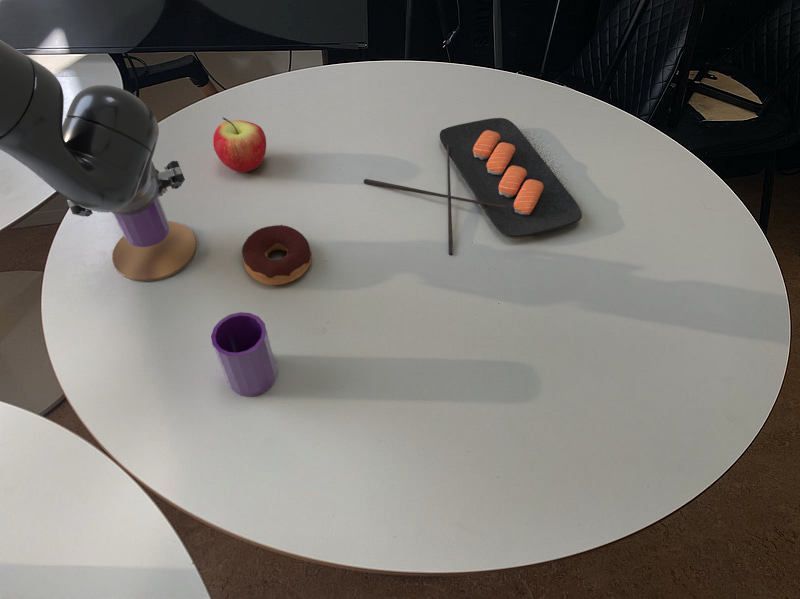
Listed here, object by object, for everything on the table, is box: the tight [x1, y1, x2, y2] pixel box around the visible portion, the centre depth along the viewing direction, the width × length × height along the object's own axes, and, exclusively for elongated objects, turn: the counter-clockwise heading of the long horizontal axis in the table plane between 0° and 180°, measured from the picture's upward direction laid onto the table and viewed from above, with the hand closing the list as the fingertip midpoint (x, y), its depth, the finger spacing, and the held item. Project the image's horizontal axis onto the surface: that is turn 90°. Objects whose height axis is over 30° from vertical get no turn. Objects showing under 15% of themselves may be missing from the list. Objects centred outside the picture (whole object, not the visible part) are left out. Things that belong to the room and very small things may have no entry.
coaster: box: [111, 220, 198, 282], centre depth 89 cm, size 12×12×1 cm
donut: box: [241, 224, 313, 286], centre depth 87 cm, size 10×10×4 cm
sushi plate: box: [363, 117, 583, 256], centre depth 98 cm, size 29×30×4 cm
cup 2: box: [210, 311, 278, 397], centre depth 73 cm, size 6×6×9 cm
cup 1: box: [112, 196, 170, 247], centre depth 83 cm, size 6×6×9 cm
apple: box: [212, 116, 267, 173], centre depth 98 cm, size 8×8×10 cm
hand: (132, 196), depth 83 cm, fingers closed on cup 1, 6 cm apart
